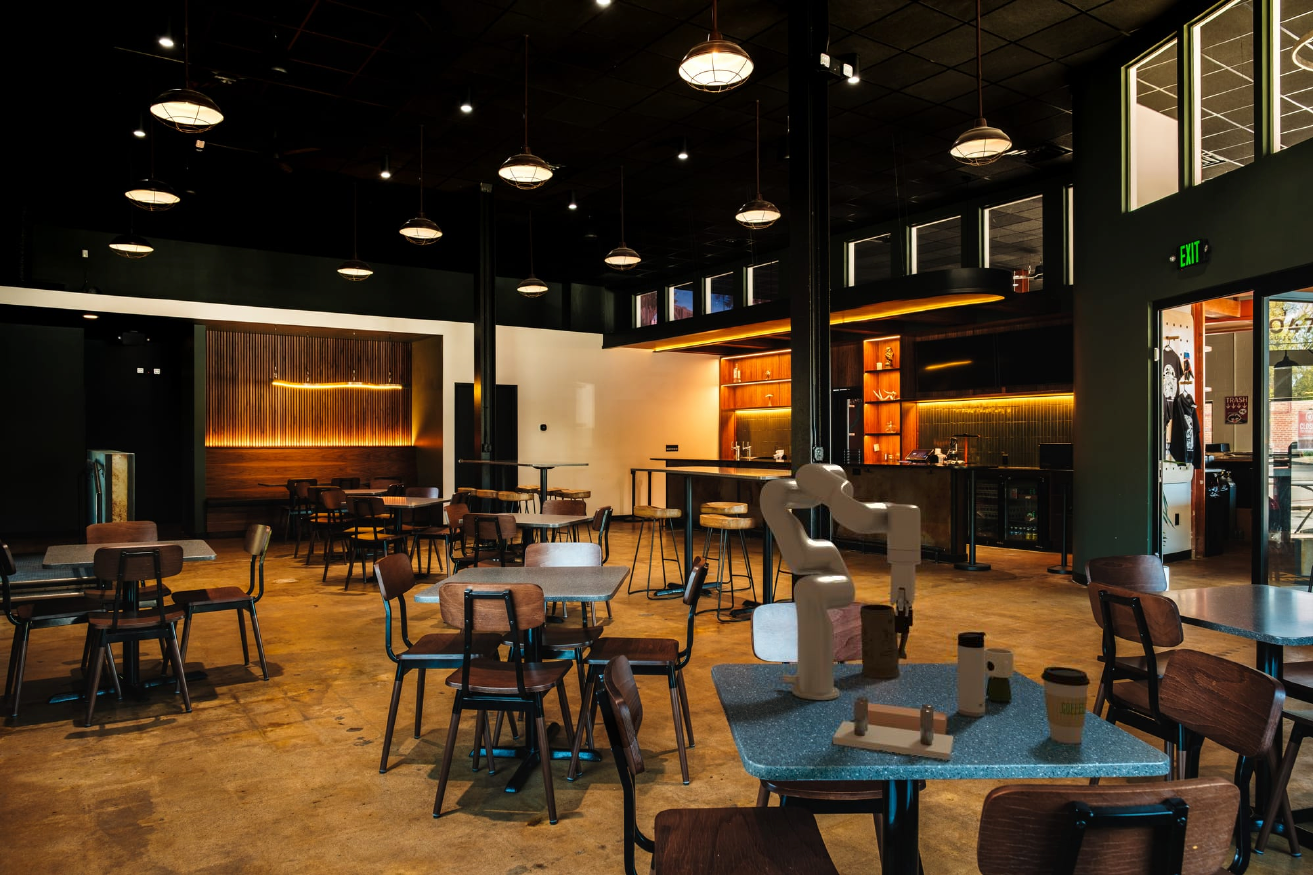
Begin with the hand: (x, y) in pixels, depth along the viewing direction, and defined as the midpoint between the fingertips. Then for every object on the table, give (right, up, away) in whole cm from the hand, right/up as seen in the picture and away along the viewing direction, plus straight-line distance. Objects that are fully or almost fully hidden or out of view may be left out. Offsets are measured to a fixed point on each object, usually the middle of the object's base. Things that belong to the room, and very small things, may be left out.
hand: (904, 629), depth 187 cm
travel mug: (+20, -23, +9) cm, 32 cm away
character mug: (+31, -24, +20) cm, 44 cm away
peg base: (-6, -22, -13) cm, 26 cm away
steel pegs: (-6, -20, -13) cm, 25 cm away
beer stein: (+9, -25, +47) cm, 54 cm away
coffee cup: (+34, -23, -9) cm, 42 cm away
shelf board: (-1, -23, -1) cm, 23 cm away
